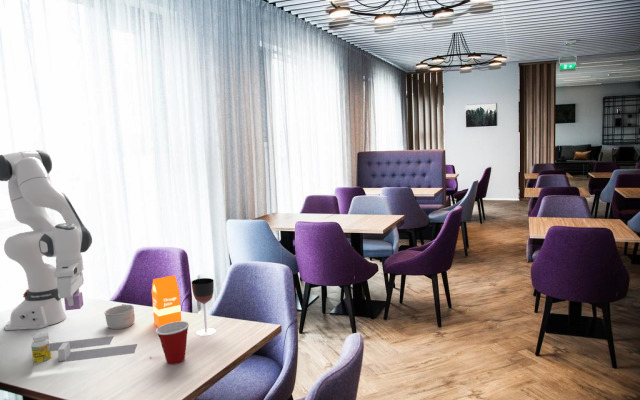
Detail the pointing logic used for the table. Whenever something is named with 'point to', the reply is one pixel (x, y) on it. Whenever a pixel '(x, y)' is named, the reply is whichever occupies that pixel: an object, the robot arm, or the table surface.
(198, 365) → the table surface
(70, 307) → the plum block
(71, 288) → the robot arm
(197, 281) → the wineglass
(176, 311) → the orange juice
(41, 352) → the supplement bottle
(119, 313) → the teacup
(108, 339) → the cube strip
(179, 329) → the plastic cup
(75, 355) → the empty strip
